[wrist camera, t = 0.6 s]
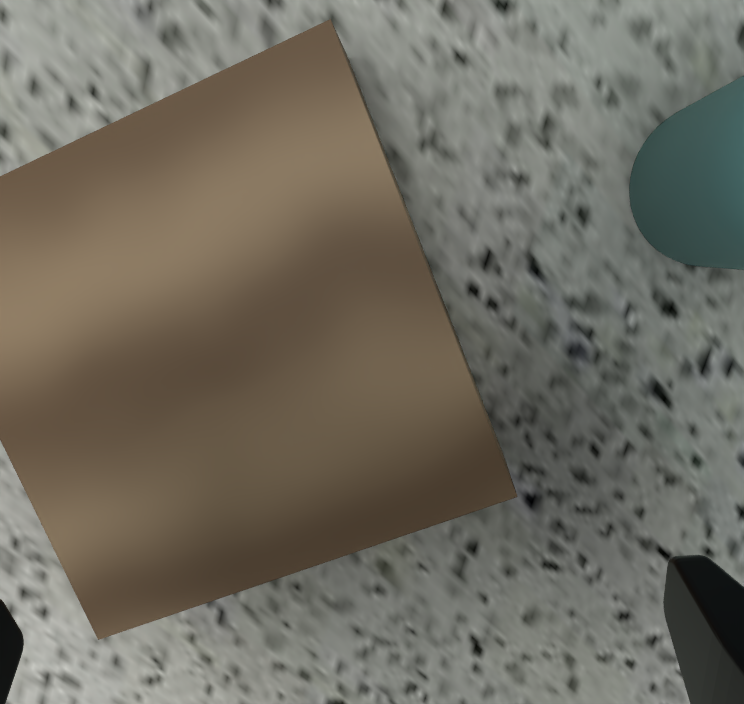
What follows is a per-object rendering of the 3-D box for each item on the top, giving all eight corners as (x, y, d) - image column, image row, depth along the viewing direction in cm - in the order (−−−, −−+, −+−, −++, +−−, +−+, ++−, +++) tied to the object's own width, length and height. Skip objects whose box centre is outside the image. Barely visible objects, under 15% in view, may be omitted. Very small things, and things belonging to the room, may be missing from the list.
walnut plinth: (504, 457, 22) (517, 496, 19) (146, 583, 24) (98, 639, 21) (347, 57, 20) (330, 19, 17) (-22, 229, 22) (-105, 226, 19)
